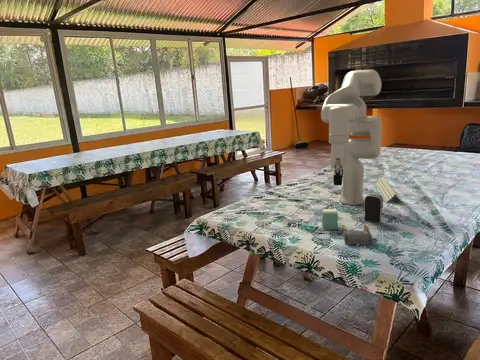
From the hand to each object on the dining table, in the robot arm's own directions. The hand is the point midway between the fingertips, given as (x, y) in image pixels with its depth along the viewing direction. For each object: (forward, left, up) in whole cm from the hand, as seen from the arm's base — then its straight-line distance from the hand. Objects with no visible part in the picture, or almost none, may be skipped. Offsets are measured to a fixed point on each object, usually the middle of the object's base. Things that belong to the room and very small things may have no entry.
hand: (338, 181), depth 140 cm
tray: (+8, +6, -21) cm, 23 cm away
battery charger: (-10, +16, -21) cm, 28 cm away
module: (-3, -3, -21) cm, 21 cm away
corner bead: (-48, +31, -22) cm, 61 cm away
